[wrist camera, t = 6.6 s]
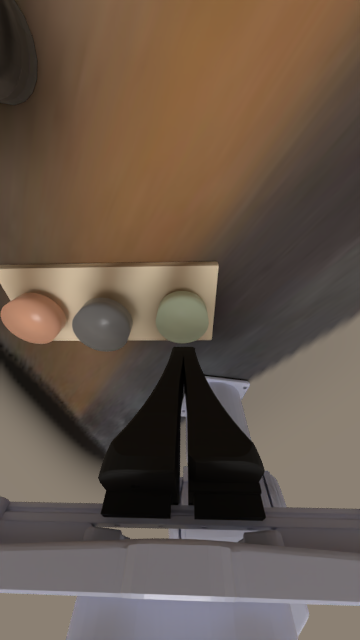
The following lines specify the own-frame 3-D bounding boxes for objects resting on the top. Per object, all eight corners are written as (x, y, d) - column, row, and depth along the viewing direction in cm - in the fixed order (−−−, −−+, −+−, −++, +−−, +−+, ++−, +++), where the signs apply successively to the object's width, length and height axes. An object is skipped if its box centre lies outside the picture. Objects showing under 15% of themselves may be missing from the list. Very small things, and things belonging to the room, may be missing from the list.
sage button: (207, 286, 17) (210, 300, 15) (204, 326, 19) (207, 343, 17) (156, 287, 17) (153, 300, 15) (160, 327, 20) (158, 343, 18)
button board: (216, 261, 17) (218, 265, 16) (210, 333, 21) (211, 340, 20) (0, 264, 17) (-9, 268, 16) (40, 334, 22) (34, 340, 21)
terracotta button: (59, 288, 17) (43, 301, 15) (76, 327, 20) (64, 343, 18) (11, 288, 17) (-11, 302, 15) (33, 327, 20) (17, 343, 18)
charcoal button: (130, 292, 16) (122, 307, 14) (137, 333, 19) (132, 351, 17) (78, 293, 16) (63, 308, 14) (92, 333, 19) (82, 351, 17)
